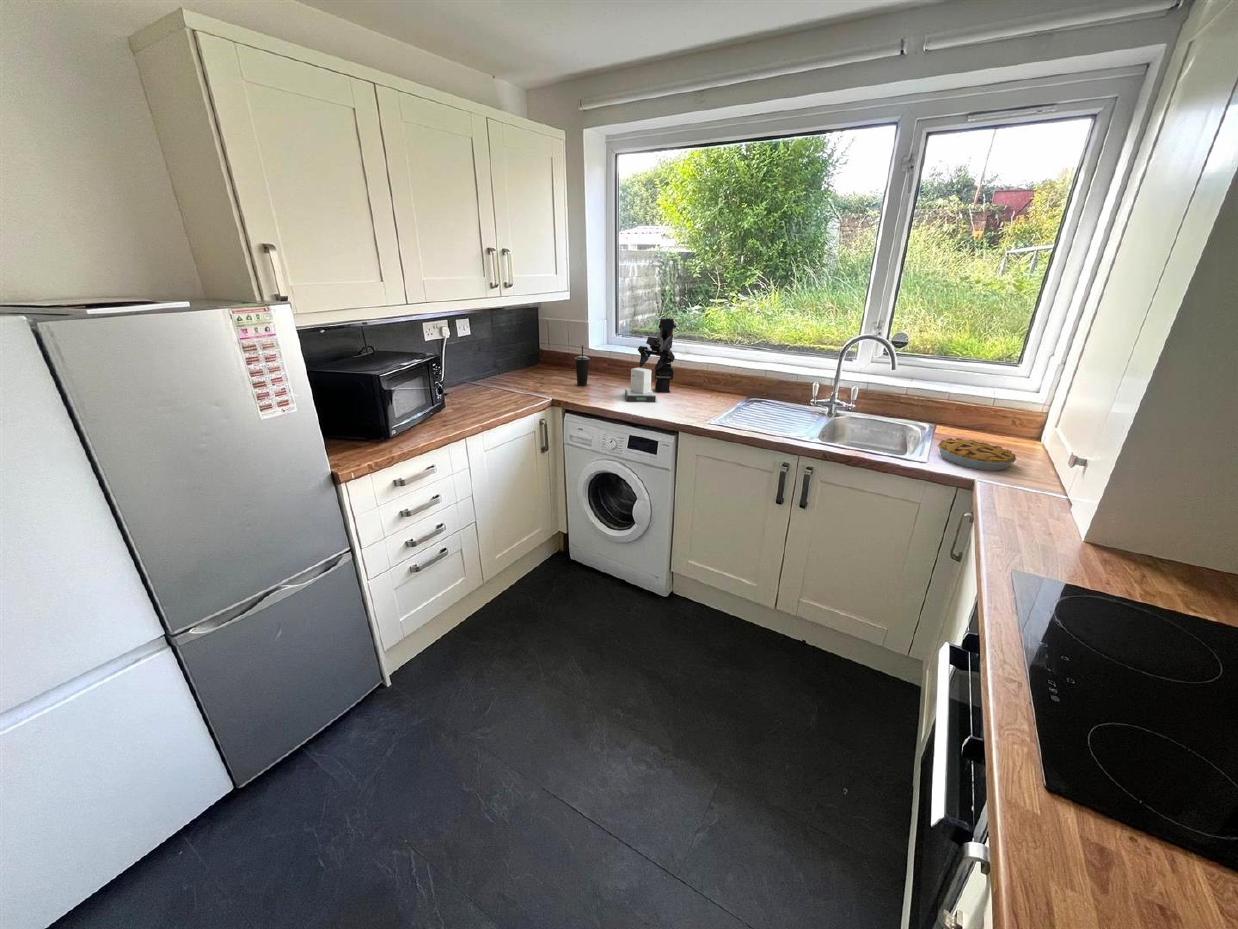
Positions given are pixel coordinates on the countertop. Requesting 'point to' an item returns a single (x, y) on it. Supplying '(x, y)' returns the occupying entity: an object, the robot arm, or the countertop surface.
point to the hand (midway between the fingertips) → (647, 367)
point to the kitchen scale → (639, 396)
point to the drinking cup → (582, 369)
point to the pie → (976, 454)
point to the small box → (641, 380)
